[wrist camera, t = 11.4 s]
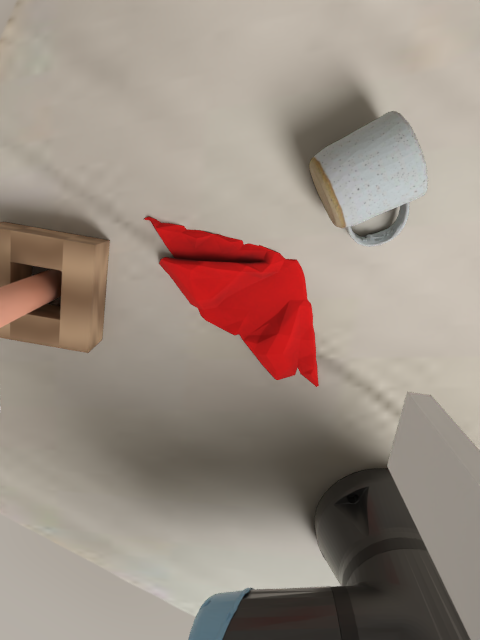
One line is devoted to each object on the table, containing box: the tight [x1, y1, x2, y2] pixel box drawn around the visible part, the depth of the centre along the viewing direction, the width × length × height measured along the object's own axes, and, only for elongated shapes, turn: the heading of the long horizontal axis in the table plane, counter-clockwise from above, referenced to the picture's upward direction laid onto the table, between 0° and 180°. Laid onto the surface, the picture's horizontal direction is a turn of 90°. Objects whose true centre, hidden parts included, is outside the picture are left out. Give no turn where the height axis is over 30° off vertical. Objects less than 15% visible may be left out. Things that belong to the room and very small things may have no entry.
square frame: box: [0, 222, 110, 353], centre depth 43 cm, size 11×11×4 cm
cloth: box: [144, 217, 319, 387], centre depth 44 cm, size 26×14×2 cm, turn 33°
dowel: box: [0, 269, 62, 328], centre depth 38 cm, size 3×3×14 cm
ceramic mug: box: [309, 111, 428, 246], centre depth 37 cm, size 11×8×8 cm
